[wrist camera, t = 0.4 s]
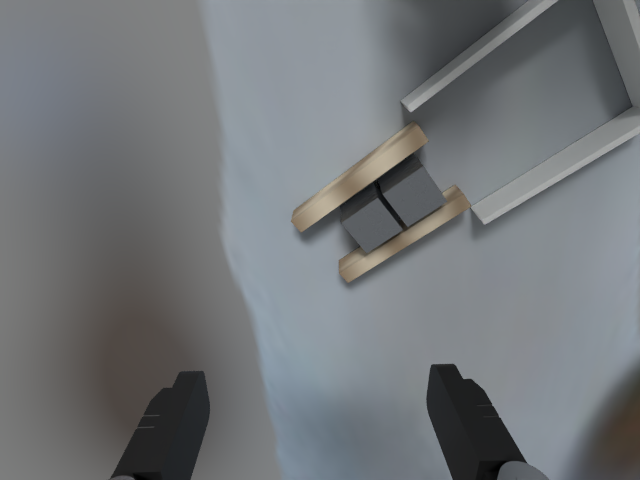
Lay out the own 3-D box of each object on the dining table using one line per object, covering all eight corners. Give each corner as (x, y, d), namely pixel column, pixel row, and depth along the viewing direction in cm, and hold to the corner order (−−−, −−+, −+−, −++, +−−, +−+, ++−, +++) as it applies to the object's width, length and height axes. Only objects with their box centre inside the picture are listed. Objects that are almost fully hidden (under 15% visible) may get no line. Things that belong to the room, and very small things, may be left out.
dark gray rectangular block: (373, 181, 34) (377, 197, 31) (396, 211, 36) (402, 230, 32) (340, 205, 35) (340, 223, 32) (363, 233, 37) (366, 253, 33)
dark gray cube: (413, 152, 33) (423, 166, 29) (435, 185, 34) (447, 201, 31) (377, 178, 34) (382, 194, 30) (400, 208, 35) (407, 227, 32)
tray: (586, -45, 25) (616, -56, 23) (642, 107, 30) (671, 113, 27) (400, 100, 30) (406, 106, 28) (473, 211, 35) (484, 224, 32)
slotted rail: (413, 120, 31) (419, 126, 29) (462, 195, 34) (471, 206, 32) (293, 210, 36) (290, 221, 33) (347, 269, 39) (348, 282, 37)
